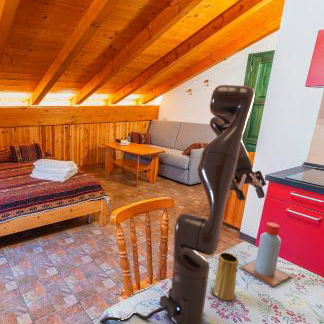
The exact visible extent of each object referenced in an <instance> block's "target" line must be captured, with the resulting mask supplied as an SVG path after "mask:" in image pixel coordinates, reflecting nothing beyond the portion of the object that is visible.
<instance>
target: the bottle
mask: <svg viewBox="0 0 324 324" xmlns="http://www.w3.org/2000/svg"><path fill="white" fill-rule="evenodd" d="M281 245H282V239H281V237H280V236H279V234H278V235H271V234H268V233H266V231H265V232H263V233H261V234H260V237H259V243H258V248H257V253H256V259H255V261H256V264H255V270H256V271H257V272H258V273H260V274H262V275H264V276H269V277H271V276H274V274H275V269H277V266H278V265H277V264H278V259H279V255H280V251H281Z"/></svg>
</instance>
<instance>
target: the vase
mask: <svg viewBox="0 0 324 324" xmlns="http://www.w3.org/2000/svg"><path fill="white" fill-rule="evenodd" d="M238 264H239V258H238V257H237V256H236V255H235V254H232V253H230V252H221V253H219V255H218V262H217V269H216V274H215V281H214V287H213V288H212V291H213V294H214V295H215V296H216V297H217V298H219V299H221V300H223V301H233V300H234V298H235V291H236V282H237V273H238Z"/></svg>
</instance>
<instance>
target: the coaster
mask: <svg viewBox="0 0 324 324" xmlns="http://www.w3.org/2000/svg"><path fill="white" fill-rule="evenodd" d="M255 264H256V260H254V261H251V262H250V263H248V264H245V265H243V266H241V268H240V269H241V270H244V271H245V272H247V273H248V274H250V275H251V276H254V277H256V278H257V279H259V280H260V281H262V282H264V283H266V284H267V285H269V286H271V287H275V286H277V285H279V284H280V283H283V282H285V281H286V280H289V279H290V278H291V275H290V274H288V273H285V272H283V271H282V270H279V269H278V268H276V269H275V274H274V276H271V277H269V276H264V275H262V274H260V273H258V272H257V271H256V270H255Z"/></svg>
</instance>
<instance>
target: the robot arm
mask: <svg viewBox="0 0 324 324" xmlns="http://www.w3.org/2000/svg"><path fill="white" fill-rule="evenodd" d="M254 99H255V89H254V88H253V87H252V86H248V85H235V84H220V85H218V86H216V87H215V88H214V89H213V91H212V93H211V97H210V101H209V110H210V113H211V114H212V115H213V117H212V118H211V119H210V121H209V127H210V128H211V130H212V131H213V133H214V135H216V137H215V138H213V139H212V140H211V141H210V142H209V143H208V144H207V145H206V146H205V147H204V148H203V149H202V151H201V155H200V159H199V161H198V162H199V163H198V167H197V175H198V178H199V181H200V184H201V186H202V188H203V191H204V192H205V193H204V194H205V195H206V199H207V202H208V206H209V216H208V218H206V217H201V216H199V215H195V214H191V213H188V212H187V213H186V212H183V213H181V214H180V215H178V217H176V218H177V219H176V221H175V224H174V231H173V232H174V233H173V257H172V259H173V265H172V276H171V288H169V289H168V295H166V294H163V295H162V296H160V297H159V306H160V307H159V308H157V309H154V310H153V311H151V312H149V313H148V314H147V315H143V314H141V313H139V312H137V311H135V312H136V313H133V314H132V315H131V316H130V317H129V318H127V319H124V320H121V319H122V318H123V317H116V316H106V317H104V318H102V319H101V320H100V321H99V323H100V324H104V323H105V322H108V321H115V322H127V321H129V320H130V319H131V318H132V317H134V316H137V317H138V318H140V319H143V320H149V319H151V318H152V317H153V316H154V315H156V314H158V313H161V312H164V311H165V312H166V316H167V317H168V318H169V319H170V320H171V321H172V322H173V323H174V324H203V323H204V313H205V312H204V311H205V305H206V297H207V288H208V281H209V275H210V274H209V273H210V264H209V261H208V260H207V258H206V257H205V256H203V255H207V256H213V255H214V254H216V252H217V249H218V247H219V243H220V240H221V234H222V229H223V225H224V217H225V212H226V208H227V207H226V206H227V201H228V197H229V194H230V191H234V192H235V194H236V197H237V199H238V200H239V201H240V202H241V201H242V202H243V201H245V200H246V197H245V194H244V192H243V190H242V189H243V186H244V185H250V186H252V187H253V188H255V189H254V190H255V193H256V195H257V197H258V199H263V198H265V197H266V195H265V194H266V193H265V192H264V189H263V187H264V186H266V185H267V183H266V181H265V178H264V175H263V174H262V172H261V170H257V171H253V164H252V161H251V159H250V155H249V153H248V151H247V149H246V147H245V145H244V143H243V136H244V132H245V129H246V126H247V122H248V119H249V117H250V113H251V110H252V106H253V103H254ZM202 254H203V255H202ZM131 313H132V312H130V313H129V314H128V315H127V316H126V317H128V316H129V315H130V314H131ZM118 320H120V321H118Z"/></svg>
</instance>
